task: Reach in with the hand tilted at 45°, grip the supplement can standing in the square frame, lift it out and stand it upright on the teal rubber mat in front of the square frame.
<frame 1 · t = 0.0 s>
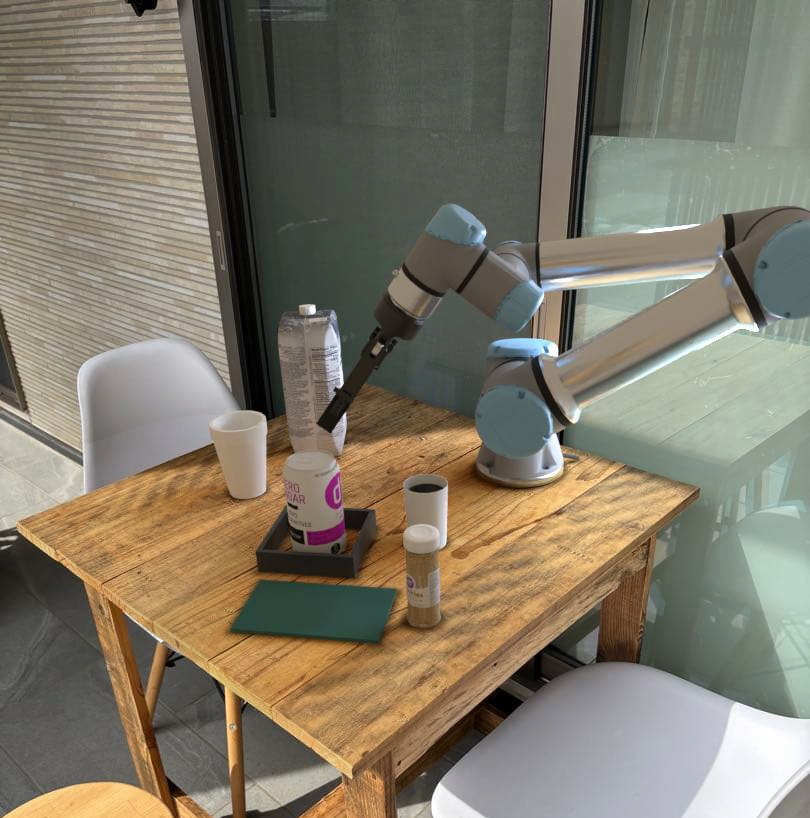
hand: (335, 411, 137), 15 cm above the table, tool tilted 35°, fingers open, 13 cm apart
square frame: (319, 549, 129), on the table
mat: (316, 611, 115), on the table
juice carton: (320, 450, 162), on the table
foam cup: (248, 491, 148), on the table
supplement can: (319, 550, 129), resting in square frame
sprinkles bottle: (424, 621, 112), on the table
white coffee cup: (427, 543, 130), on the table
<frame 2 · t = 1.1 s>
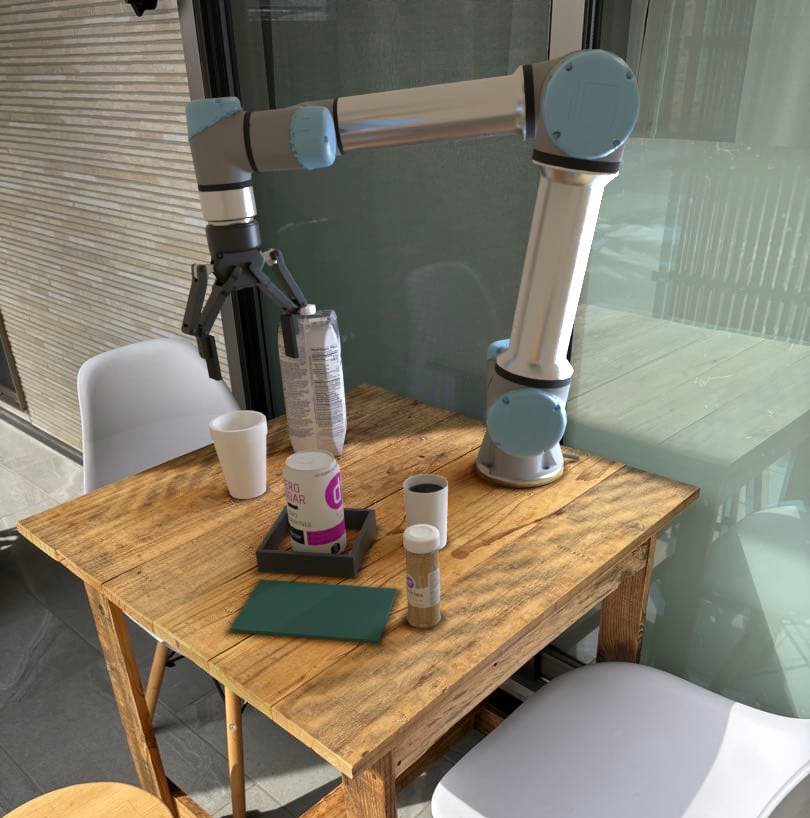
hand: (255, 367, 130), 24 cm above the table, tool pointing down, fingers open, 13 cm apart
nothing on the table moved.
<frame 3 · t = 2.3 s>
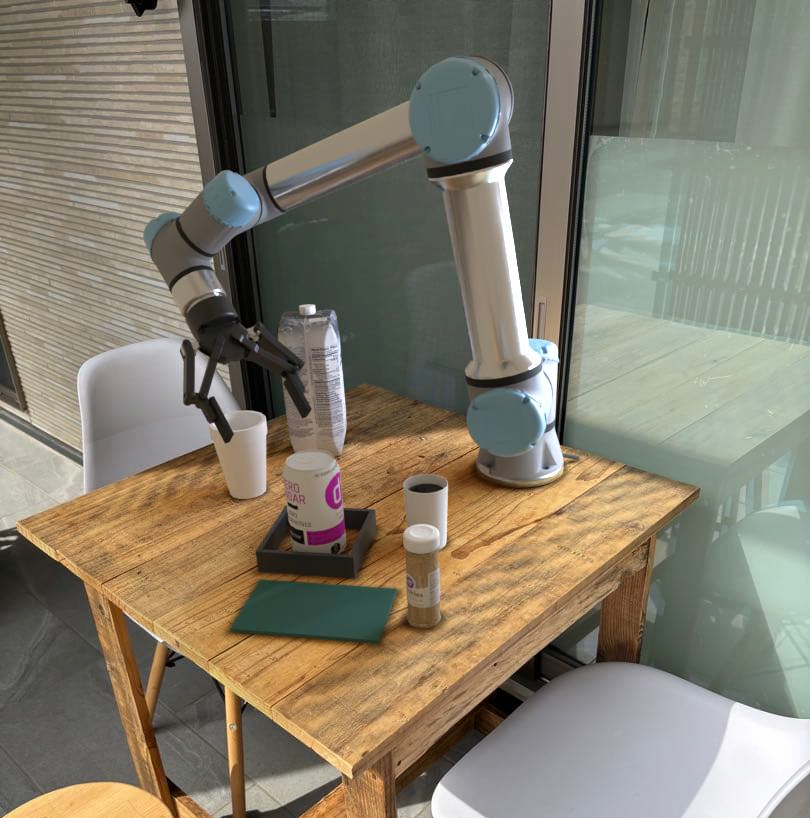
hand: (269, 426, 128), 17 cm above the table, tool tilted 45°, fingers open, 13 cm apart
nothing on the table moved.
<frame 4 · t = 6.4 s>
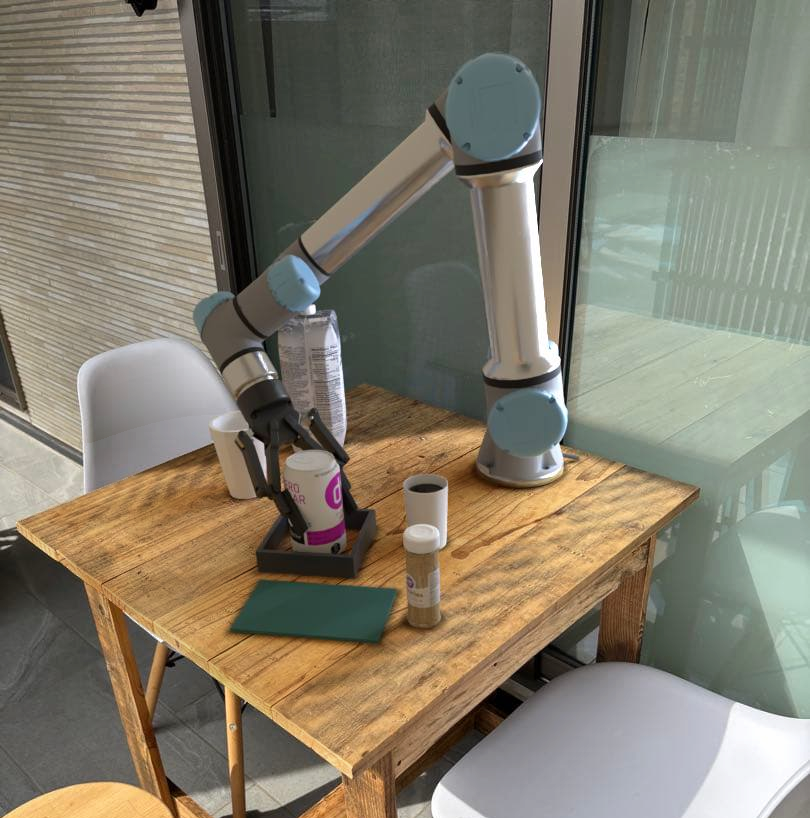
hand: (328, 521, 124), 6 cm above the table, tool tilted 45°, fingers closed on supplement can, 8 cm apart
supplement can: (319, 550, 129), resting in square frame, touching gripper
everything else where it was.
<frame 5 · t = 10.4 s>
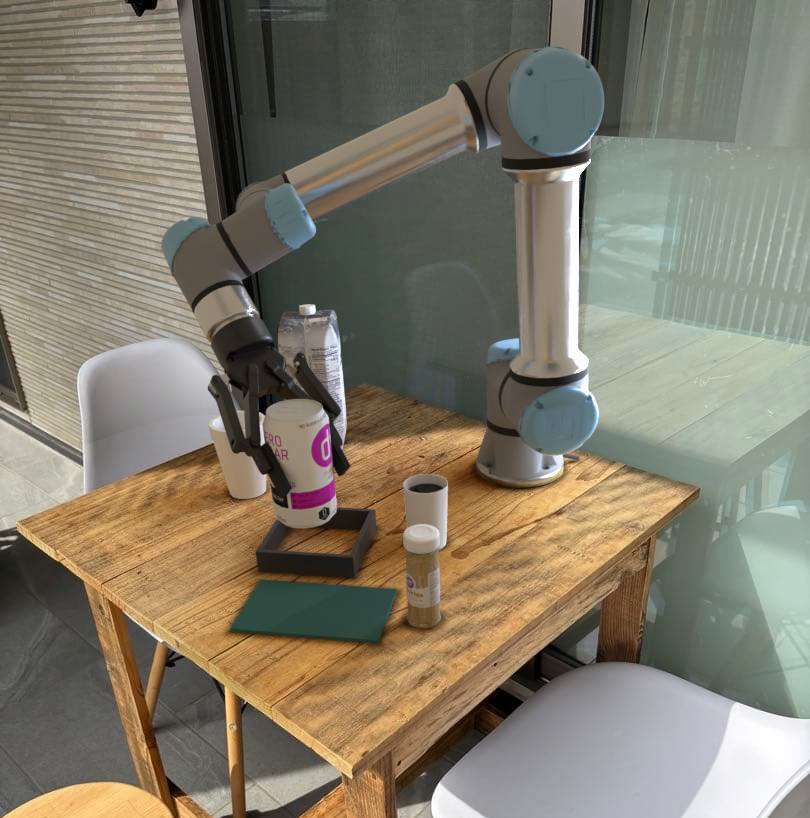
hand: (316, 482, 107), 19 cm above the table, tool tilted 45°, fingers closed on supplement can, 8 cm apart
supplement can: (306, 516, 113), point 12 cm above the table, touching gripper
everything else where it was.
when the fingers open (7 cm above the table, at t = 14.6 s): supplement can stays where it is, resting on mat.
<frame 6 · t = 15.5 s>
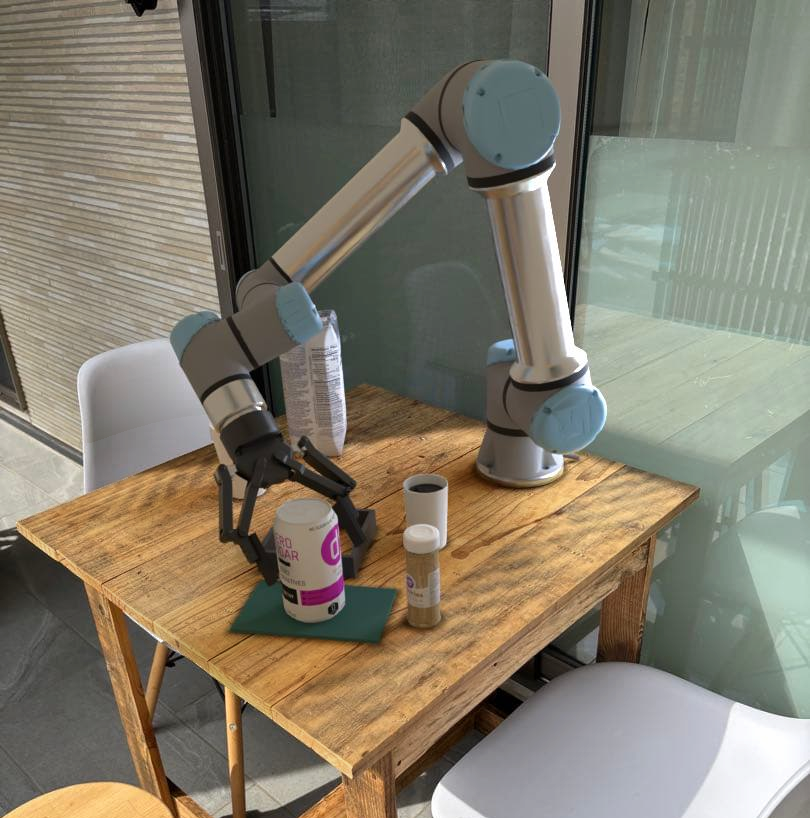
hand: (319, 562, 109), 9 cm above the table, tool tilted 45°, fingers open, 13 cm apart
supplement can: (315, 608, 115), resting on mat
everything else where it was.
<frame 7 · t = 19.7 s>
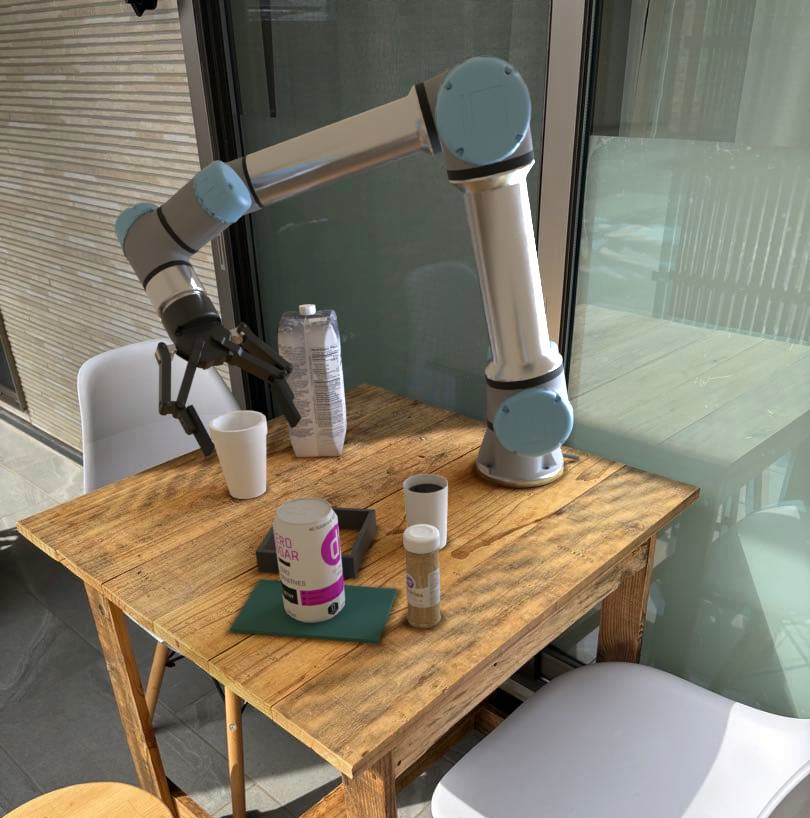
hand: (254, 437, 116), 20 cm above the table, tool tilted 45°, fingers open, 13 cm apart
nothing on the table moved.
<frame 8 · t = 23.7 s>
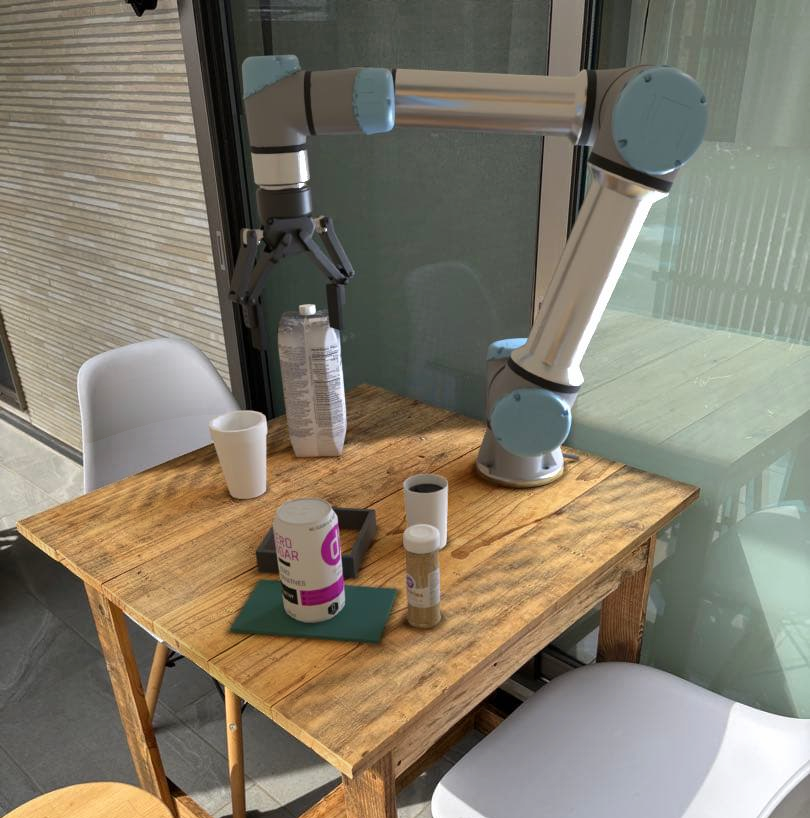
hand: (299, 338, 127), 29 cm above the table, tool pointing down, fingers open, 13 cm apart
nothing on the table moved.
at the end: supplement can inside the target area on the mat (0.1 cm from its centre), point 0.4 cm above the mat's base; supplement can tilted 0°; the gripper is holding nothing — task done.
